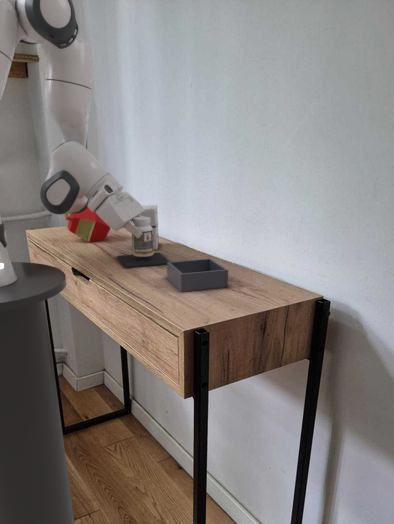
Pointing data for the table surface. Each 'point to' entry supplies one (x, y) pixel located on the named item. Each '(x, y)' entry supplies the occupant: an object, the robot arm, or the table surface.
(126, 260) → the mat
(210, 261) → the open box
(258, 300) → the table surface
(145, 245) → the pill bottle
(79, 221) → the apple
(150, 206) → the ink box
